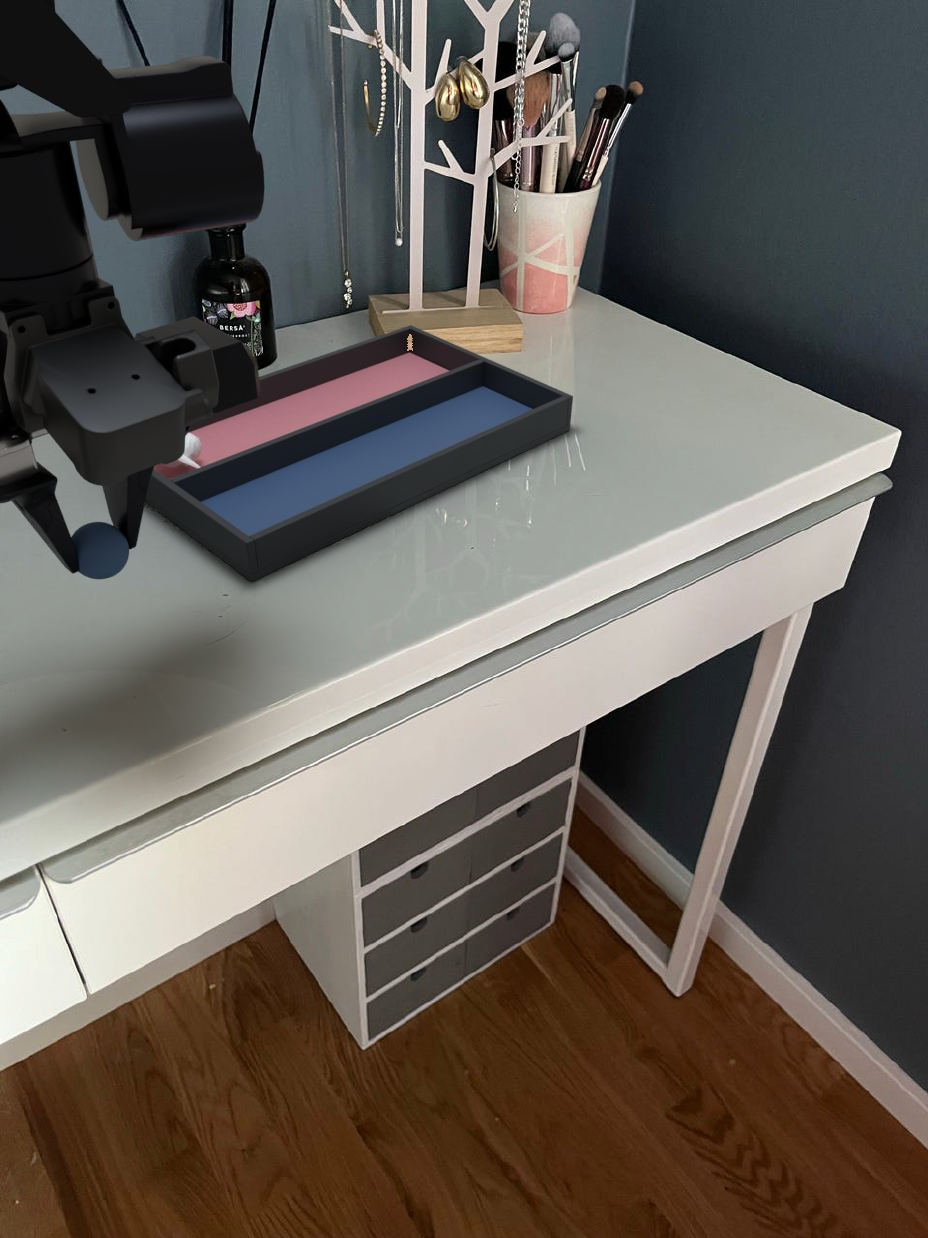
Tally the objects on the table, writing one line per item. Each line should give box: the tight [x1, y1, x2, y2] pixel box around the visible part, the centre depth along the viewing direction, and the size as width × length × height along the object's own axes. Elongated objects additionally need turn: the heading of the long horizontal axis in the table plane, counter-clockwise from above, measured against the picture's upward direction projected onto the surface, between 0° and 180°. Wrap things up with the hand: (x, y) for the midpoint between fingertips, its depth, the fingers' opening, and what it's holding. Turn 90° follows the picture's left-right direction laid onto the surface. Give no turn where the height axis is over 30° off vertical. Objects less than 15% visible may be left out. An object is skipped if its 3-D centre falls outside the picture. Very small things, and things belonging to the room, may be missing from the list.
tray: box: [145, 324, 574, 583], centre depth 79 cm, size 32×20×3 cm, turn 134°
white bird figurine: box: [161, 433, 202, 468], centre depth 73 cm, size 8×5×5 cm, turn 41°
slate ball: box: [71, 521, 130, 580], centre depth 52 cm, size 3×3×3 cm
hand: (100, 557), depth 52 cm, fingers closed on slate ball, 3 cm apart
